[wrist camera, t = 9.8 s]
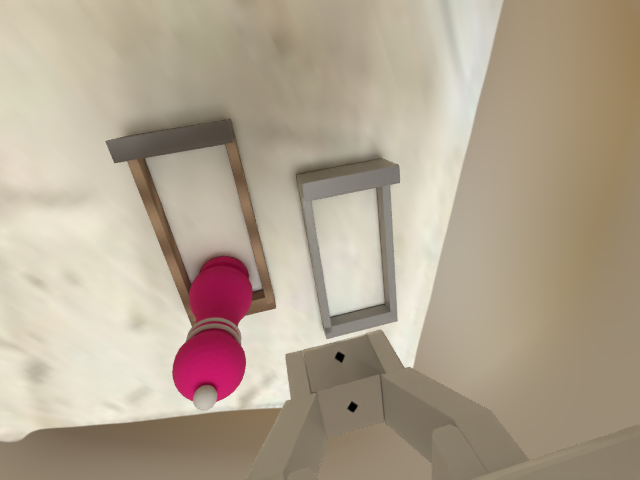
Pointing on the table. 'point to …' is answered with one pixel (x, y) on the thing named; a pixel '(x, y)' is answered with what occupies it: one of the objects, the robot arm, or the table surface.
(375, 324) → the grey open rectangular frame
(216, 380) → the pepper mill
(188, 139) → the brown wooden rectangular frame
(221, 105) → the table surface
